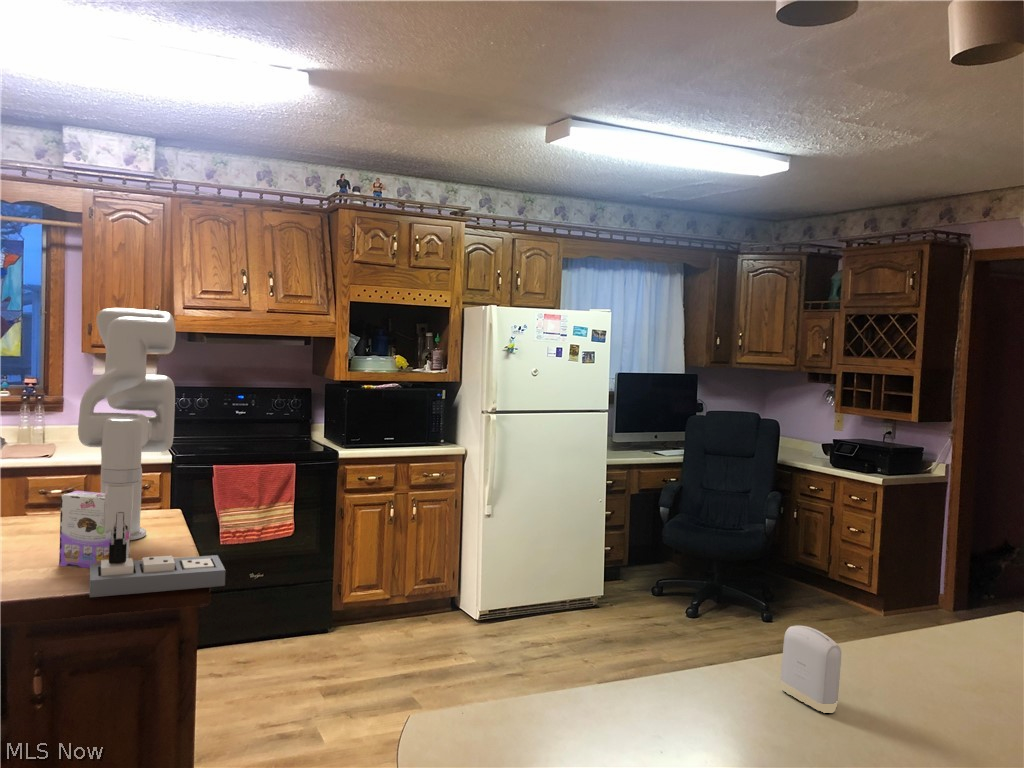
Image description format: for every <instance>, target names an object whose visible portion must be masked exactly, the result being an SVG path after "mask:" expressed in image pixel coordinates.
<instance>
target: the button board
mask: <svg viewBox="0 0 1024 768" xmlns="http://www.w3.org/2000/svg"><path fill="white" fill-rule="evenodd" d="M208 558H210V559H211V561H212V563H213V565H214V568H201V569H188V570H182V568H181V563H182V560H194V559H208ZM173 559H174V562H175V571H161V572H148V573H143V569H142V559H141V560H133V565H134V570H133V574H121V575H108V576H101V563H94V564H90V568H89V580H88V581H89V598H98V597H110V596H121V595H123V596H124V595H131V594H132V595H134V594H145V593H157V592H158V593H159V592H167V591H168V592H170V591H179V590H180V591H182V590H192V589H203V588H214V587H215V588H217V587H225V586H226V569H225V566H224V564H223V563H222V561H221V559H220V557H219V555H218V554H216V555H215V554H214V555H213V554H212V555H201V556H185V557H173Z"/></svg>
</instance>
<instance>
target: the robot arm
mask: <svg viewBox="0 0 1024 768" xmlns="http://www.w3.org/2000/svg"><path fill="white" fill-rule="evenodd" d="M175 324H176V323H175V319H174V316H173V315H172V314H171V313H170V312H168V311H164V310H154V309H152V310H151V309H139V308H138V309H137V308H129V307H128V308H127V307H111V308H109V307H108V308H103V309H101V310H99V312H98V313H97V315H96V327H97V330H98V334H99V337H100V339H101V340H102V343H103V345H104V347H105V360H104V361H105V364H104V373H103V374H101V375H100V376H98V378H96V379H95V380H94V381H93V382H92V383H91V384H90V385H89V386H88V388H87V389H86V390H85V392H84V393H83V396H82V397H81V399H80V404H79V414H78V421H77V422H78V423H77V424H78V425H77V436H78V439H79V441H80V443H81V444H82V445H83V446H85V447H88V448H100V451H101V452H100V453H101V454H100V455H101V459H100V460H101V461H100V463H101V465H100V493H105V502H104V532H105V533H108V531H111V543H109V563H110V564H113V563H125V562H126V547H127V543H126V530H127V532H128V531H130V541H134V540H139V539H142V538H144V537H145V536H146V535H147V530H146V529H145V528H144V527H141V515H142V514H141V507H142V486H143V468H142V453H163V452H167V451H168V450H170V449H171V448H172V446H173V442H174V437H175V436H174V435H175V411H176V409H175V408H176V407H175V406H176V405H175V404H176V390H175V389H176V388H175V383H174V381H173V380H172V379H171V377H169V376H168V375H163V374H147V354H157V355H160V354H161V355H168V354H170V353H172V352H173V351H174V348H175V345H176V336H177V335H176V325H175ZM106 398H107V404H108V406H109V407H110V408H111V409H114V410H116V411H117V410H119V411H128V412H129V411H132V412H133V411H134V412H135V411H136V412H137V411H138V412H153V413H154V414H155V415H145V414H142V413H131V412H130V413H125V412H124V413H123V412H94V410H95V407H96V405H97V404H99V403H100V402H101V401H103V400H105V399H106ZM123 514H124V516H123Z"/></svg>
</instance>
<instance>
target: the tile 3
mask: <svg viewBox="0 0 1024 768" xmlns="http://www.w3.org/2000/svg"><path fill="white" fill-rule="evenodd" d="M181 568H182V570H188V569H201V568H214V565H213V563H212V561H211V559H210V558H208V559H194V560H182V563H181Z"/></svg>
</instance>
